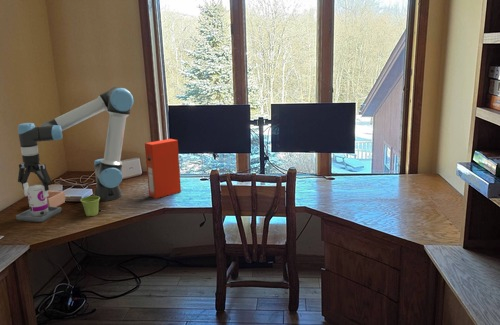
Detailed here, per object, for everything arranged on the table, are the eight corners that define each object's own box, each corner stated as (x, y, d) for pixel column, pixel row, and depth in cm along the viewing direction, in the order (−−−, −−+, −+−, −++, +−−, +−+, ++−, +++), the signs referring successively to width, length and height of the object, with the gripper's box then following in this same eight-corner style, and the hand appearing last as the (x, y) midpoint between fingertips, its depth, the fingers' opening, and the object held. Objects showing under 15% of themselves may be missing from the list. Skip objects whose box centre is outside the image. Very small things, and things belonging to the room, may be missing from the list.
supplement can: (52, 212, 213) (48, 185, 210) (39, 218, 206) (35, 189, 202) (40, 210, 216) (36, 183, 212) (27, 216, 209) (22, 188, 205)
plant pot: (90, 219, 206) (88, 203, 204) (78, 215, 211) (76, 199, 208) (105, 213, 213) (103, 197, 211) (93, 210, 218) (92, 194, 216)
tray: (61, 211, 217) (61, 207, 216) (42, 222, 202) (41, 217, 202) (37, 209, 220) (37, 205, 219) (16, 220, 206) (15, 215, 205)
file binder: (148, 195, 240) (144, 142, 232) (173, 189, 251) (170, 138, 243) (156, 199, 234) (152, 144, 226) (180, 192, 246) (177, 140, 238)
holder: (65, 201, 232) (64, 191, 230) (50, 209, 219) (48, 199, 218) (46, 200, 234) (44, 190, 233) (29, 208, 222) (27, 197, 221)
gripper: (55, 153, 204) (61, 194, 209) (16, 151, 209) (23, 192, 214) (45, 156, 197) (51, 199, 202) (5, 155, 202) (12, 196, 207)
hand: (36, 195), depth 208 cm, fingers open, 10 cm apart
